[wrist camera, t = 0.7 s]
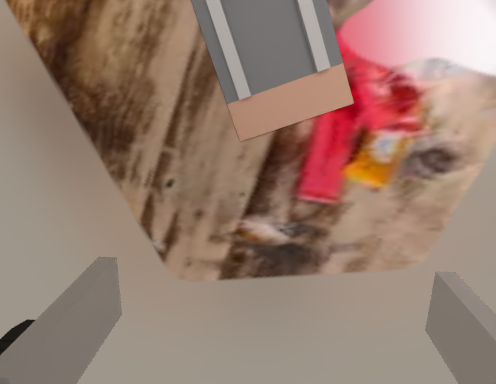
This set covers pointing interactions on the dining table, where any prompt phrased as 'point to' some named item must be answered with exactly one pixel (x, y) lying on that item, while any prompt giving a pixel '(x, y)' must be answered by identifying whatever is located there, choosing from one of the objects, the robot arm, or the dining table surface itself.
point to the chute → (274, 61)
